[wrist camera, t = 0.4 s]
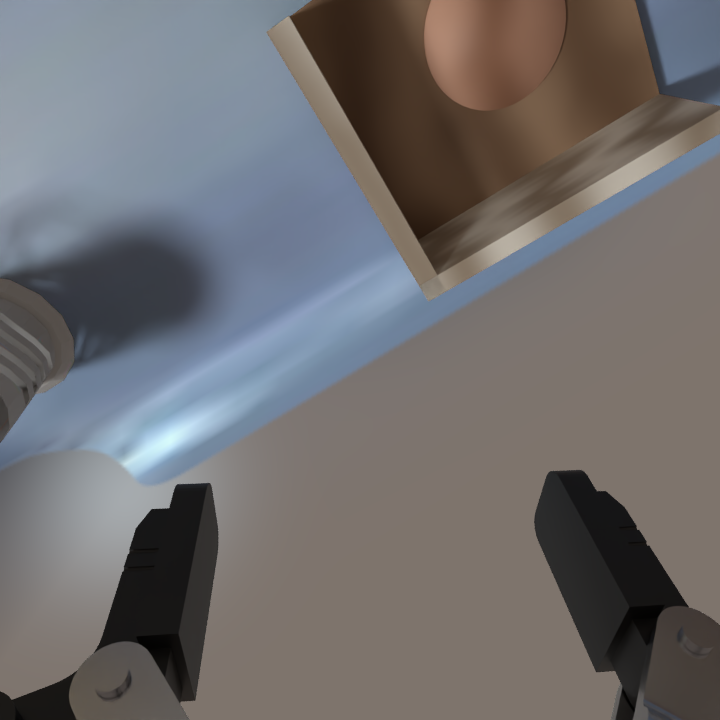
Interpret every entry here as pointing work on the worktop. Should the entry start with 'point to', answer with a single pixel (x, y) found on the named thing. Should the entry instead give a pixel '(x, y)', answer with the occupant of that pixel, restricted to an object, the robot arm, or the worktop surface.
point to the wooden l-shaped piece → (485, 116)
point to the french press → (29, 350)
